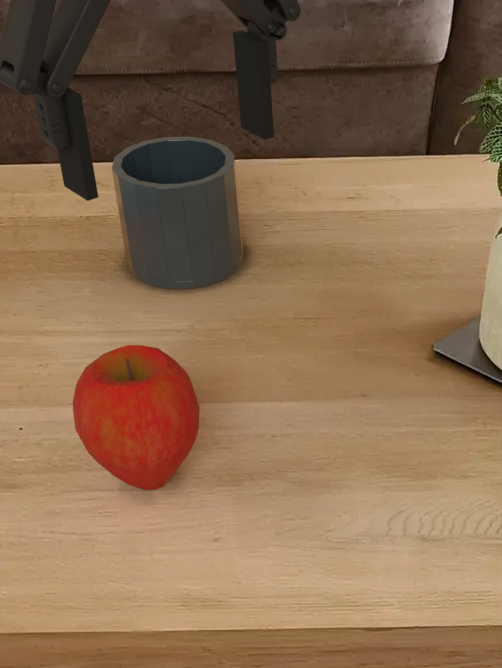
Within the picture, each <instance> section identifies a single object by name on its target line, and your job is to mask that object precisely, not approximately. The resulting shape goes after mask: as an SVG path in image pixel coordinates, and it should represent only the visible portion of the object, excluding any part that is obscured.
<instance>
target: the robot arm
mask: <svg viewBox="0 0 502 668" xmlns="http://www.w3.org/2000/svg"><path fill="white" fill-rule="evenodd" d="M110 2H111V0H60V2H59V4H58V6H57V8H56V4H57V0H10V1H9V6H8V11H7V14H6V20H5V24H4V28H3V33H2V37H1V41H0V83H1V84H3V85H5V86H6V87H8V88H9V89H11V90H12V91H15V92H17V93H18V94H20V95H23V96H29V95H32V96H33V101H34V106H35V110H36V115H37V120H38V125H39V130H40V136H41V137H42V139H43V140H44V143H46V144H47V145H49V146H51V147H52V148H54V149H55V150H57V155H58V160H59V166H60V170H61V176H62V182H63V186H64V187H65V188H66V189H68V190H70V191H71V192H73V193H74V194H75V195H78V196H79V197H81V198H82V199H84V201H85V200H86V201H87V202H89V201H92V200H95V199H98V198H99V193H98V186H97V181H96V174H95V169H94V163H93V157H92V151H91V145H90V140H89V135H88V128H87V122H86V117H85V116H86V115H85V111H84V106H83V105H84V104H83V99H82V94H81V93H80V92H77V91H75V90H74V89H72V88H71V87H69V86H70V84H71V82H72V80H73V78H74V76H75V74H76V72H77V70H78V67H79V66H80V63H81V62H82V60H83V57H84V56H85V53H86V51H87V50H88V47H89V45H90V43H91V41H92V40H93V37H94V35H95V33H96V31H97V29H98V27H99V25H100V23H101V20H102V19H103V17H104V14H105V13H106V10H107V8H108V7H109V4H110ZM220 2H221V3H222V4H223V5H224V6H225V7H226V8H227V9H228V10H229V12H231V13H232V14H233V15H234V17H235V18H236V19H237V21H239V22H240V23H241V24H242V25H243V26H244V27H245V28H246V31H245V30H243V29H241V30H237V31H234V32H232V38H233V52H234V62H235V63H234V64H235V73H236V85H237V97H238V108H239V109H238V110H239V120H240V128H241V129H243V130H245V131H247V132H249V133H251V134H253V135H255V136H256V137H259V138H261V139H263V140H264V141H266V140H269V139H272V138H275V128H274V127H275V126H274V114H273V113H274V112H273V100H272V99H273V98H272V85H271V84H274V83H276V82H277V80H278V76H279V68H278V55H277V53H278V52H277V41H282V40H283V39H284V38H285V37H286V35H287V34H288V33H287V32H288V28H287V25H286V23H287V22H288V21H290V22H295V21H297V20H299V19H298V18H299V17H300V16H301V5H300V3H299V1H298V0H220ZM55 8H56V10H55Z"/></svg>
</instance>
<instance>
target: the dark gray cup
mask: <svg viewBox="0 0 502 668" xmlns="http://www.w3.org/2000/svg"><path fill="white" fill-rule="evenodd" d="M111 173H112V178H113V184H114V190H115V196H116V197H115V198H116V203H117V210H118V216H119V222H120V227H121V234H122V241H123V246H124V252H125V258H126V261H127V264H128V270H129V271H130V273H131V274H132V276H134V277H135V278H136V279H137V280H139V281H140V282H142V283H144V284H146V285H150V286H153V287H158V288H161V289H170V290H171V289H172V290H187V289H198V288H203V287H207V286H211V285H213V284H217V283H219V282H222V281H224V280H226V279H227V278H230V277H231V276H232V275H234V274H235V273H236V272H237V271H238V270H239V269H240V268H241V266H242V264H243V261H244V242H243V233H242V232H243V231H242V230H243V229H242V220H241V209H240V199H239V198H240V197H239V187H238V179H237V178H238V176H237V165H236V156H235V154H234V153H233V152H232V150H231V149H230V148H229V147H228V146H227V145H225V144H222V143H220V142H217V141H215V140H213V139H209V138H208V139H207V138H203V137H202V138H201V137H194V136H164V137H159V138H154V139H147V140H143V141H140V142H138V143H135V144H133V145H130V146H128V147H125V148H124V149H123V150H121V151H120V152H119V153H118V154H117V155H115V156H114V158H113V161H112V165H111Z"/></svg>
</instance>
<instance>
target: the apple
mask: <svg viewBox="0 0 502 668" xmlns="http://www.w3.org/2000/svg"><path fill="white" fill-rule="evenodd" d="M200 409H201V408H200V403H199V400H198V399H197V395H196V392H195V389H194V385H193V382H192V380H191V377H190V375H189V374H188V373H187V371H186V370H185V369H184V368H183V367H182V365H180V363H179V362H178V361H177V360H176V359H174V358H173V357H172V356H170V355H169V354H167V353H166V352H164V351H163V350H161V349H160V348H158V347H153V346H148V345H143V344H142V345H141V344H127V345H124V346H123V345H122V346H120V347H117V348H115V349H112V350H109V351H107V352H105V353H102V354H101V355H100V356H99V357H97V358H95V360H93V361H91V363H89V364H88V365H86V366H85V367H84V369H83V371H82V373H81V374H80V376H79V378H78V379H77V381H76V385H75V388H74V395H73V399H72V413H73V422H74V429H75V432H76V434H77V435H78V437H79V439H80V441H81V443H82V444H83V446H84V448H85V450H86V452H87V453H88V454H89V456H91V457H92V459H93V460H95V461H96V463H97V464H98V465H100V466H101V467H102V468H104V469H105V470H106V471H107V472H108V473H110V475H112V476H113V477H115V478H117V479H118V480H120V481H122V482H123V483H125V484H127V485H129V486H132V487H134V488H137V489H140V490H145V491H155V490H159V489H160V488H161V487H163V486H165V485H166V484H167V483H168V481H169V480H170V479H171V478H172V477H173V476H174V474H176V472H177V471H178V469H179V468H180V466H181V465H182V464H183V462H184V461H185V460H186V459H187V457H188V455H189V454H190V452H191V451H192V449H193V447H194V445H195V441H196V439H197V437H198V434H199V429H200Z"/></svg>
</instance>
